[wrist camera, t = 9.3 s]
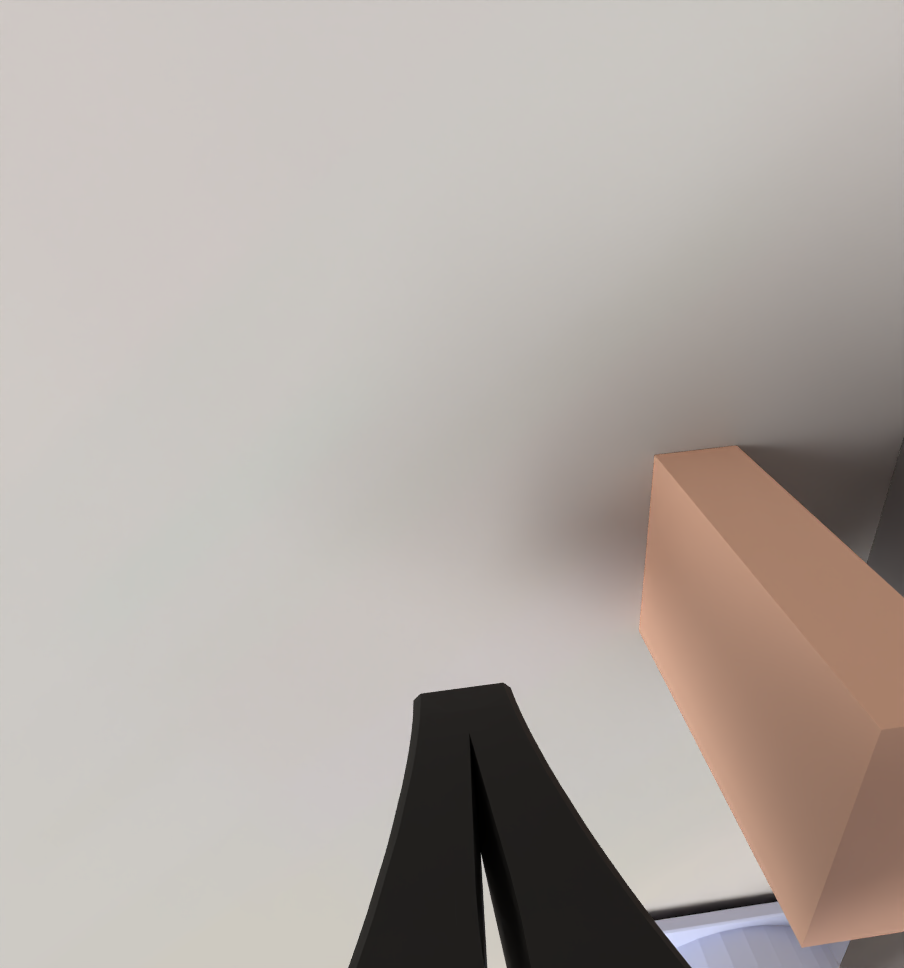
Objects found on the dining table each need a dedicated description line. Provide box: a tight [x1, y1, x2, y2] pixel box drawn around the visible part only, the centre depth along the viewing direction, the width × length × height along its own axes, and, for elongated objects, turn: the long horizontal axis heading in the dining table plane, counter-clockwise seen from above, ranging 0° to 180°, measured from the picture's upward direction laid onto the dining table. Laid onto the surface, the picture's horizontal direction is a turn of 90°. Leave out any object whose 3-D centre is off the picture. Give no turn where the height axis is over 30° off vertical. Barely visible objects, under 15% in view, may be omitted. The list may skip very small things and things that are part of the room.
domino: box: [639, 445, 904, 948], centre depth 11 cm, size 2×4×6 cm, turn 4°
